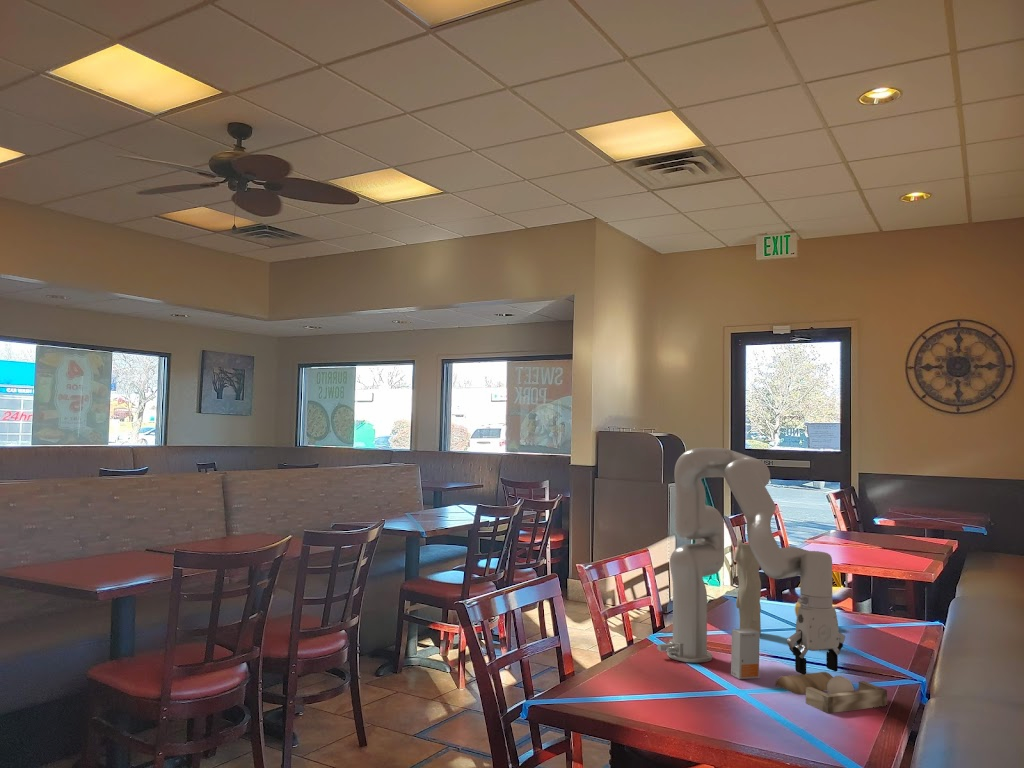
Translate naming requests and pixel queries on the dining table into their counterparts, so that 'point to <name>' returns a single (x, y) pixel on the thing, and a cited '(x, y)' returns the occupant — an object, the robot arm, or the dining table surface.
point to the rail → (847, 698)
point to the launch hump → (804, 682)
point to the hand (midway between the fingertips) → (816, 671)
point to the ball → (839, 685)
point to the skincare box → (745, 653)
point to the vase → (748, 588)
